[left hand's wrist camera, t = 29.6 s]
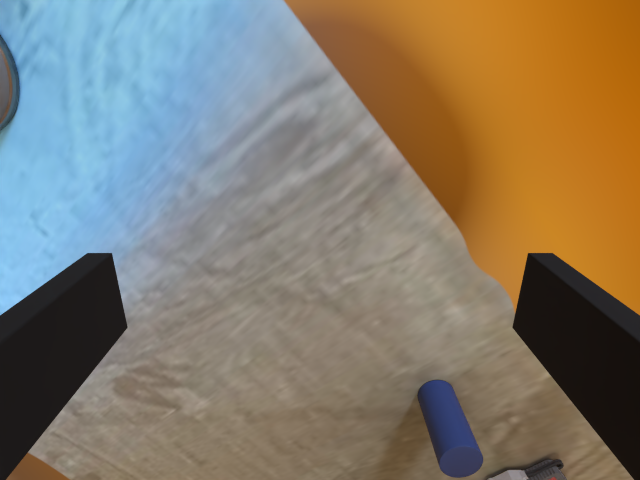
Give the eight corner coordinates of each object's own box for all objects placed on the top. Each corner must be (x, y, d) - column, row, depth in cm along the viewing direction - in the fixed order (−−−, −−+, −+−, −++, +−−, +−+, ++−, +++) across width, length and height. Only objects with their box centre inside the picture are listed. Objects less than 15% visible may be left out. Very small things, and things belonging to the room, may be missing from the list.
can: (437, 413, 62) (463, 483, 51) (410, 398, 61) (430, 466, 50) (460, 390, 60) (492, 457, 49) (433, 374, 59) (458, 439, 48)
